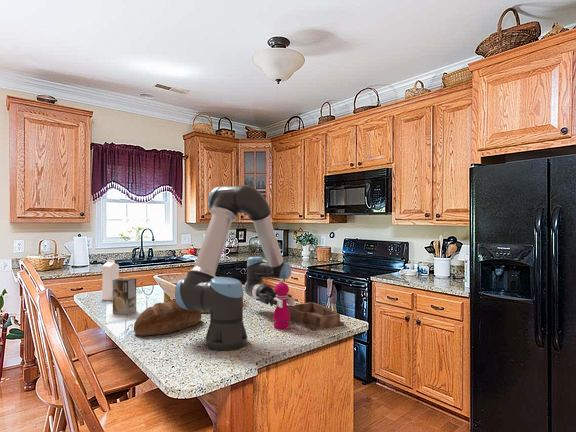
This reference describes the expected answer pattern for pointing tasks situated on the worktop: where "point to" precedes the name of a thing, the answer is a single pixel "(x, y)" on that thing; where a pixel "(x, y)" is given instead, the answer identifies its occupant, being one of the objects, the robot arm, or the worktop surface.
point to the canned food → (166, 297)
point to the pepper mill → (281, 314)
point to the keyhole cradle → (314, 316)
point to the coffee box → (124, 296)
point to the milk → (109, 278)
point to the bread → (165, 319)
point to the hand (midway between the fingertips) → (287, 303)
